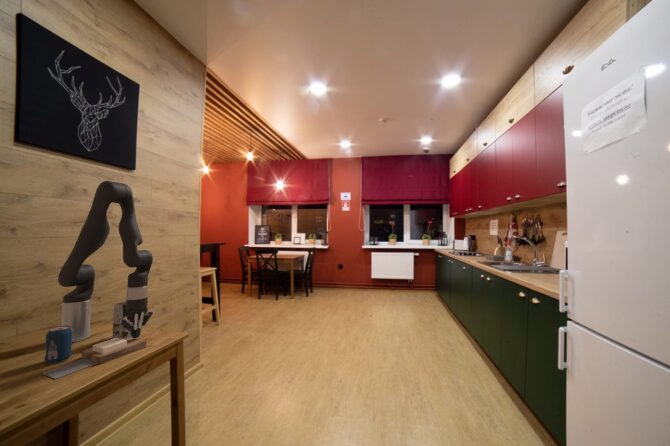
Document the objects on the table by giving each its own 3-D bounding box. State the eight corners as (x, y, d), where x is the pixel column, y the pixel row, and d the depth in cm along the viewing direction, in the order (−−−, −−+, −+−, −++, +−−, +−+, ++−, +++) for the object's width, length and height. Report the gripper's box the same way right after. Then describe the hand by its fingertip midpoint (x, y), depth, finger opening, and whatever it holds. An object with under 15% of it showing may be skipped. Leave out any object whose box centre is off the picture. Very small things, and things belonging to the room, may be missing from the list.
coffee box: (123, 341, 116) (124, 304, 117) (111, 340, 118) (113, 303, 118) (142, 333, 125) (143, 299, 126) (131, 332, 127) (132, 298, 127)
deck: (81, 357, 101) (81, 351, 101) (127, 342, 116) (127, 336, 116) (100, 364, 96) (100, 357, 96) (146, 347, 111) (146, 341, 111)
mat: (41, 373, 90) (41, 372, 90) (84, 358, 100) (84, 358, 100) (55, 379, 86) (55, 378, 86) (97, 363, 97) (97, 362, 97)
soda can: (69, 354, 104) (71, 323, 104) (72, 359, 99) (73, 327, 100) (43, 360, 98) (45, 328, 99) (45, 366, 94) (46, 333, 94)
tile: (92, 350, 102) (92, 345, 102) (116, 342, 109) (116, 337, 109) (103, 353, 99) (103, 348, 99) (126, 345, 106) (126, 340, 106)
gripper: (147, 292, 121) (146, 330, 120) (114, 299, 109) (112, 341, 108) (158, 294, 118) (156, 333, 117) (125, 301, 106) (123, 345, 105)
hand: (135, 337), depth 113 cm, fingers closed
